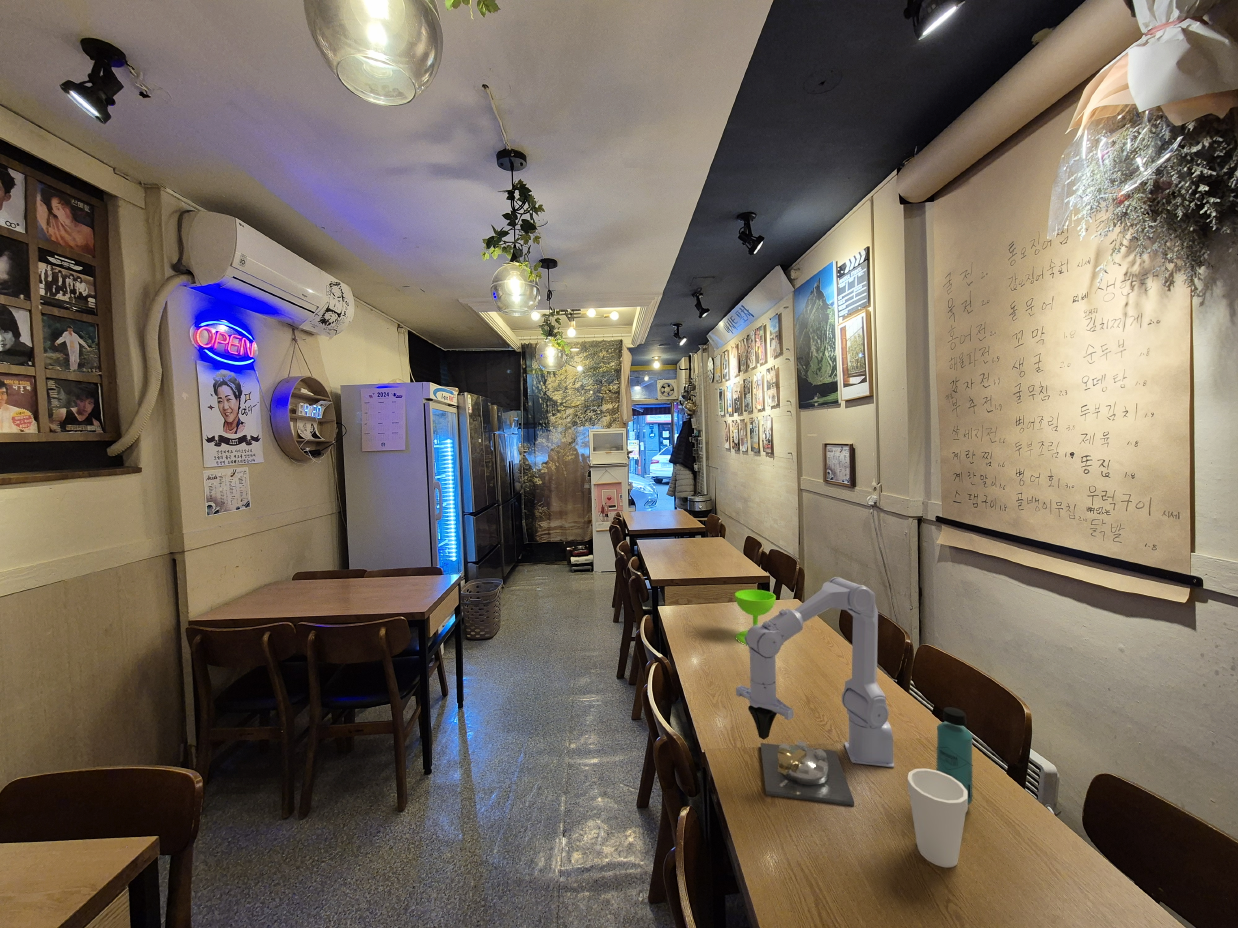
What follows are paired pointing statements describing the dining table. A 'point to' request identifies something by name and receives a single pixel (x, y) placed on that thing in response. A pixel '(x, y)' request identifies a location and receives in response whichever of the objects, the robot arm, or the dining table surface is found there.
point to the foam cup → (937, 814)
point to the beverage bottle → (955, 748)
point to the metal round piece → (803, 763)
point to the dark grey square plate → (826, 792)
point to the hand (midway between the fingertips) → (763, 736)
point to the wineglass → (754, 606)
